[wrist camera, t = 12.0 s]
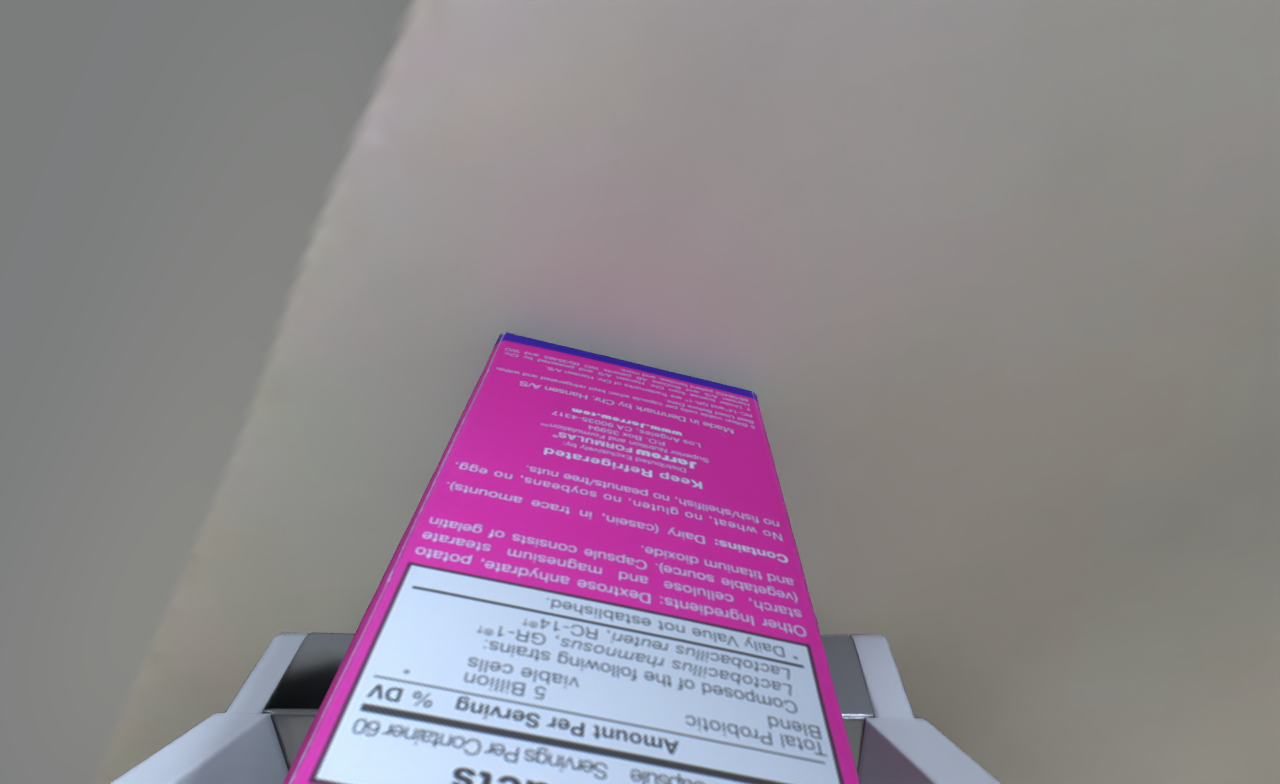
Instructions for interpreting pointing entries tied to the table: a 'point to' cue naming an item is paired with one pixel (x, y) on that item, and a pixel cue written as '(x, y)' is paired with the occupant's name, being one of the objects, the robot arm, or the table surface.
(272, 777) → the robot arm
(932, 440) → the table surface
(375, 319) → the table surface
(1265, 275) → the table surface
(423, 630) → the supplement box
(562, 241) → the table surface
